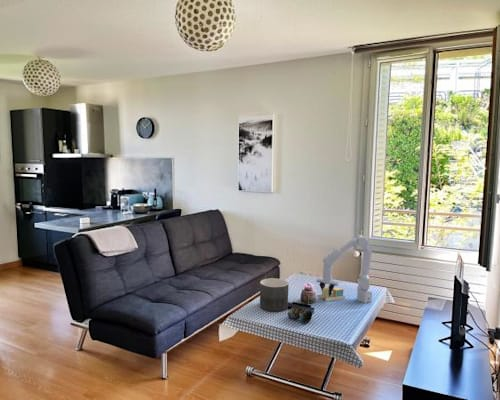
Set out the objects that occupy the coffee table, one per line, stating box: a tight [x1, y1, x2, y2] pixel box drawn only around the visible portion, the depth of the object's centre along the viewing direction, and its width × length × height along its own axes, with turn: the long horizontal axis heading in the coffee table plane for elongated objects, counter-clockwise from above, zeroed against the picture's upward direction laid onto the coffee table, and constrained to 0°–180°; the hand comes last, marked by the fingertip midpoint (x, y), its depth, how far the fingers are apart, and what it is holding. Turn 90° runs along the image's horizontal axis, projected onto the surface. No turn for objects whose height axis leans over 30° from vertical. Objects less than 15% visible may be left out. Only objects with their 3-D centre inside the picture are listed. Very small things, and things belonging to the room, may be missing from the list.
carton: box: [321, 285, 331, 298], centre depth 255 cm, size 6×4×6 cm, turn 147°
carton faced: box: [332, 287, 344, 297], centre depth 257 cm, size 6×4×6 cm, turn 114°
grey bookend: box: [316, 293, 346, 302], centre depth 259 cm, size 12×15×3 cm
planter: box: [259, 277, 289, 313], centre depth 242 cm, size 18×18×16 cm
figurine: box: [287, 307, 313, 326], centre depth 222 cm, size 9×8×15 cm
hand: (326, 294), depth 255 cm, fingers closed on carton, 4 cm apart
